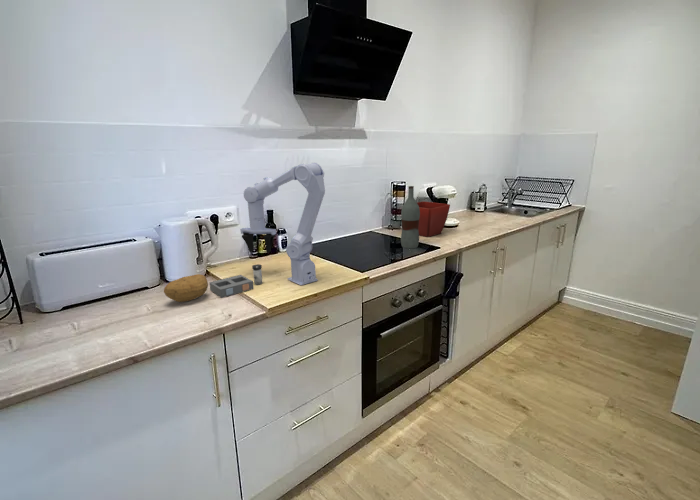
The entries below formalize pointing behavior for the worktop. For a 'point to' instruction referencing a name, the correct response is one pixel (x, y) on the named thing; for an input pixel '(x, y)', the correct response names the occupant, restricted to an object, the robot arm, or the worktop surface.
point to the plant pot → (432, 218)
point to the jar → (257, 274)
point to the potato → (186, 288)
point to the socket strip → (231, 285)
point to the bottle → (410, 221)
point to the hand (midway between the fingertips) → (260, 251)
